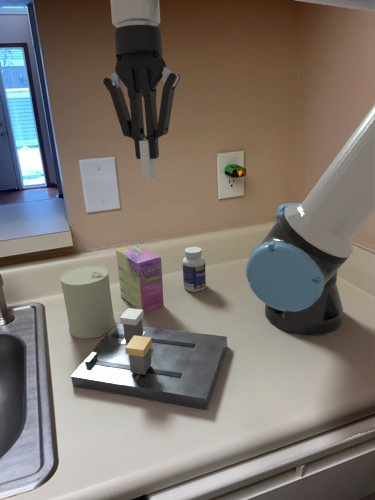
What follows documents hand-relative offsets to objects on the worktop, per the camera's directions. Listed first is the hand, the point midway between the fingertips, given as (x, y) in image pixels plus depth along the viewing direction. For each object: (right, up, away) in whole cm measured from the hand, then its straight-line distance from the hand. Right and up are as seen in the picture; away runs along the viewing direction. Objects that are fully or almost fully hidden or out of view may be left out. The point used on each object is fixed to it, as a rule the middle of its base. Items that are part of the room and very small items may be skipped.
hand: (149, 177), depth 69 cm
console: (+1, -33, -3) cm, 33 cm away
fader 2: (-1, -32, -7) cm, 33 cm away
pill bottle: (+9, -22, +24) cm, 34 cm away
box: (-3, -25, +19) cm, 31 cm away
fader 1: (-3, -29, +1) cm, 29 cm away
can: (-12, -29, +10) cm, 33 cm away
